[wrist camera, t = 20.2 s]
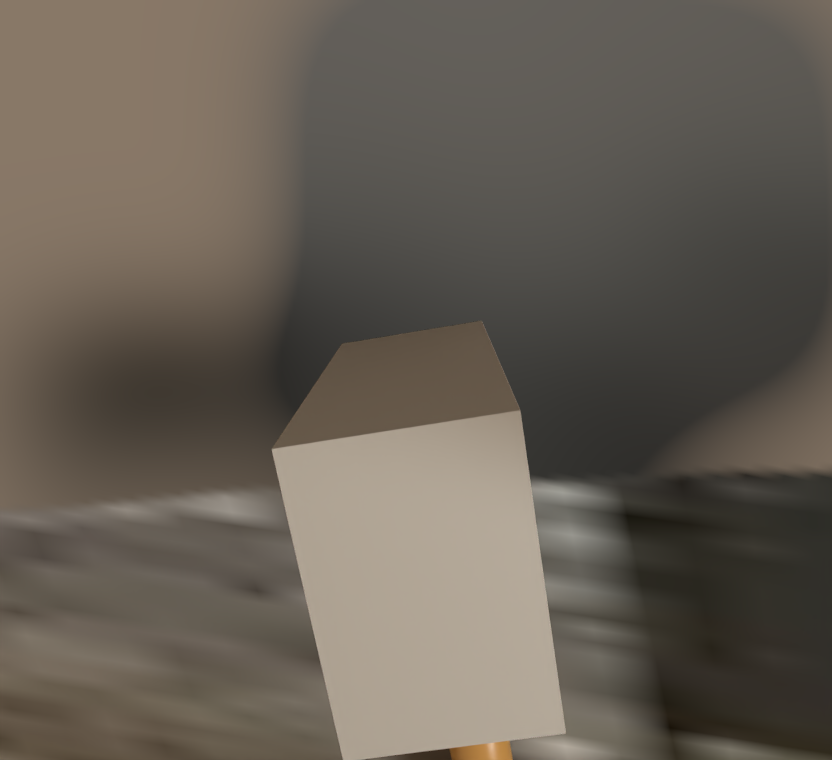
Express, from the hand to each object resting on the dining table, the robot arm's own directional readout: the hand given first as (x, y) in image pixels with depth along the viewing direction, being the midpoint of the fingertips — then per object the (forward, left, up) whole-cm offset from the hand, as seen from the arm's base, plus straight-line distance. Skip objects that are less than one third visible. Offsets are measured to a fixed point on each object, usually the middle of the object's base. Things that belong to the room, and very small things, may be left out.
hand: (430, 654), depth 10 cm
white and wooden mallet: (-8, 0, -11) cm, 14 cm away
